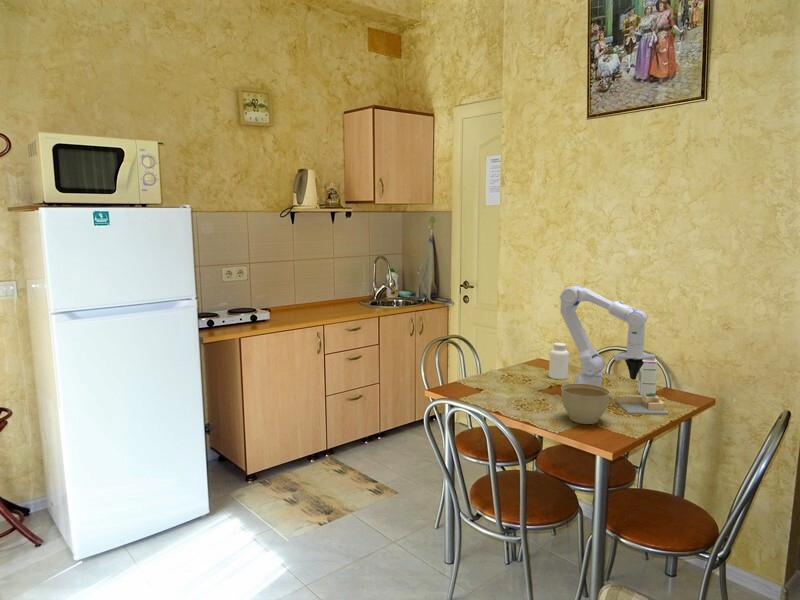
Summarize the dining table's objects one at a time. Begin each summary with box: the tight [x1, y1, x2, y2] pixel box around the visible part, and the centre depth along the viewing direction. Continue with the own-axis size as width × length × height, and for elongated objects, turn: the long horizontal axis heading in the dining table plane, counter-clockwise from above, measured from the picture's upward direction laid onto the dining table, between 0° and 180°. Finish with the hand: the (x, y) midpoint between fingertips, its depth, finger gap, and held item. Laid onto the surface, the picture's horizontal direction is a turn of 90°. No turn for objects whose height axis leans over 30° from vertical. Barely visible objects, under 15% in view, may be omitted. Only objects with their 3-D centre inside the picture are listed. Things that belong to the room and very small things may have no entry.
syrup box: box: [637, 358, 658, 395], centre depth 221 cm, size 6×6×14 cm
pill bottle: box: [548, 342, 570, 381], centre depth 243 cm, size 8×8×15 cm
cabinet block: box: [641, 392, 661, 409], centre depth 205 cm, size 4×4×5 cm
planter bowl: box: [560, 382, 611, 425], centre depth 192 cm, size 16×16×11 cm
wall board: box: [616, 394, 669, 415], centre depth 204 cm, size 14×12×3 cm
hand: (632, 378), depth 208 cm, fingers closed
